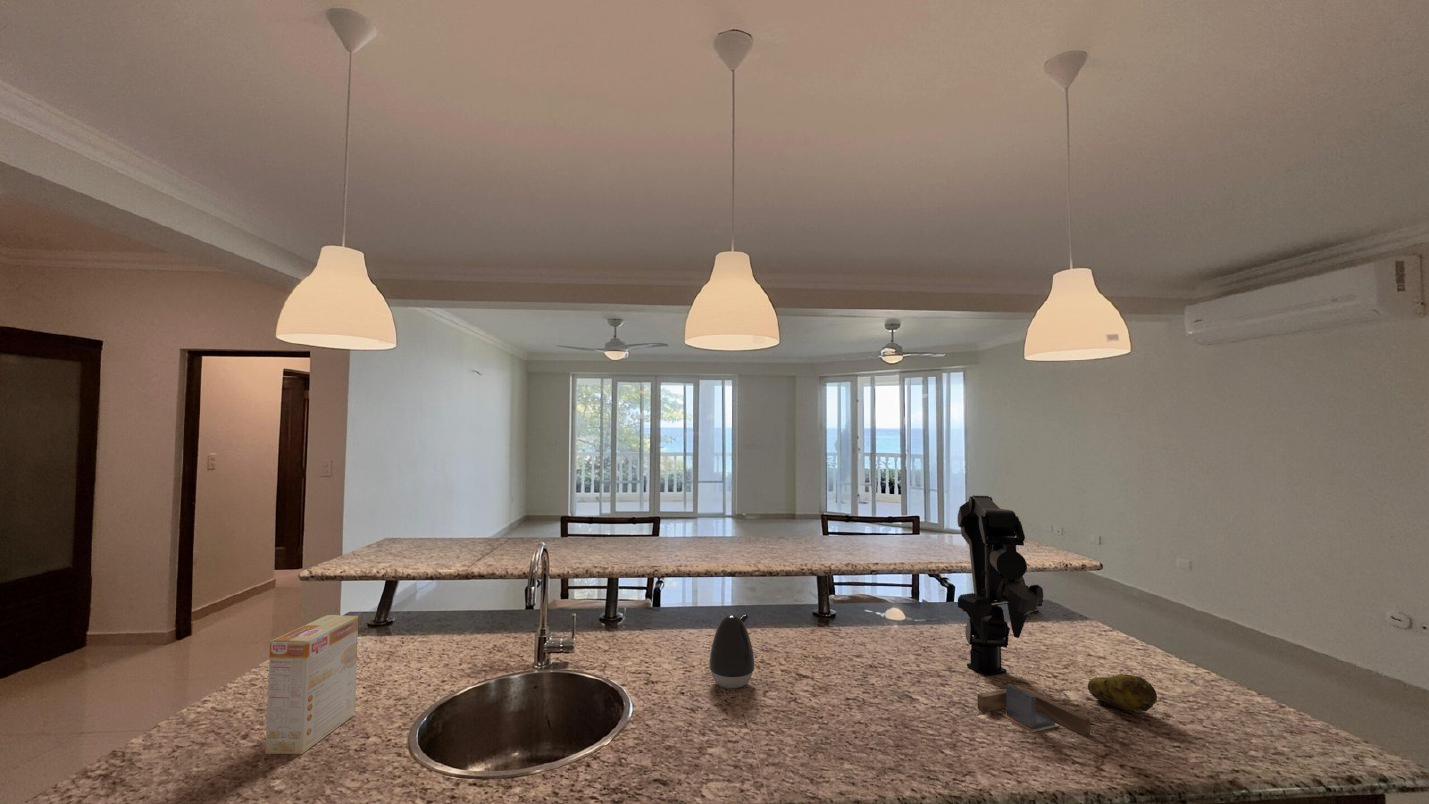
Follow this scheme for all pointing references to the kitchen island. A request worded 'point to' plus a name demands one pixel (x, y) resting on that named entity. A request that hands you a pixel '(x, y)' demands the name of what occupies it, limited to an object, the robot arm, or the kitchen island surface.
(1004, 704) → the wooden l-shaped block
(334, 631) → the coffeecake box
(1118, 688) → the potato
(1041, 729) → the pad
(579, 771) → the kitchen island surface
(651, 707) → the kitchen island surface
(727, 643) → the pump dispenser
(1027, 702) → the bracket
